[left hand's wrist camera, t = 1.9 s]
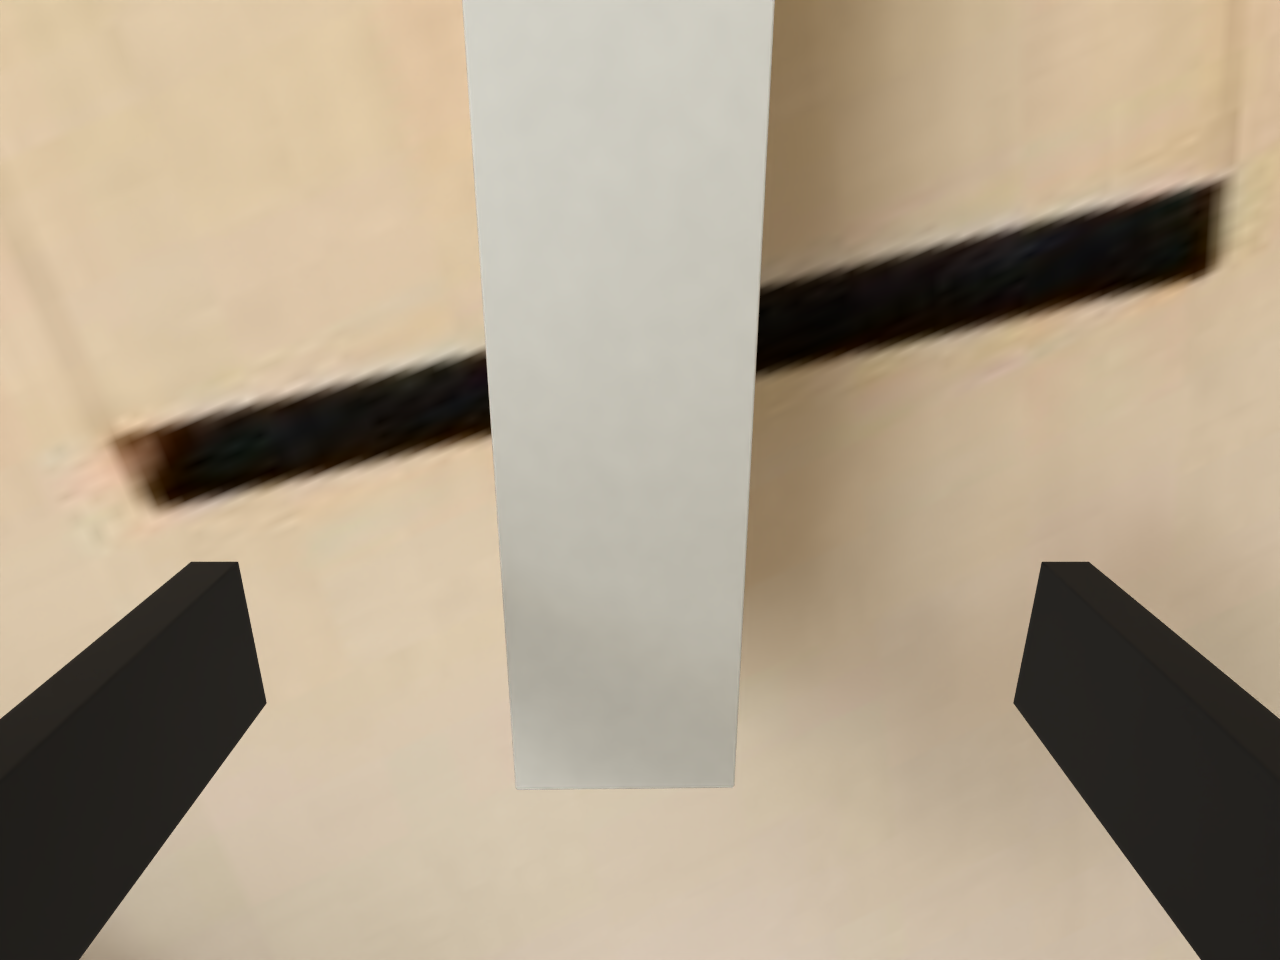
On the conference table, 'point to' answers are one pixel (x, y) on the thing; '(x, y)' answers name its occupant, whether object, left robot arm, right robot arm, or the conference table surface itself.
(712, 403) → the bar
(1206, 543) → the conference table surface
